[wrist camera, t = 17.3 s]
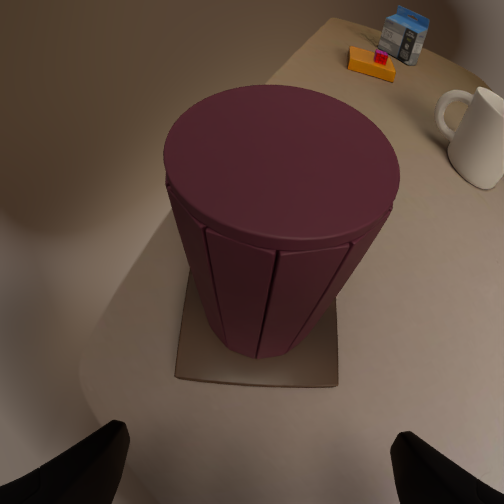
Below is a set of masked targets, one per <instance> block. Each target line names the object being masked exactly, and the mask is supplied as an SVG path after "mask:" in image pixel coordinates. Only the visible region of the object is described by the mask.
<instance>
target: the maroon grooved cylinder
mask: <svg viewBox="0 0 504 504" xmlns="http://www.w3.org/2000/svg"><path fill="white" fill-rule="evenodd" d="M163 156H164V165H165V169H166V181H165V182H166V183H165V184H166V188H167V192H168V195H169V199H170V202H171V206H172V210H173V213H174V216H175V220H176V223H177V227H178V230H179V233H180V237H181V240H182V243H183V247H184V250H185V253H186V256H187V259H188V263H189V266H190V269H191V272H192V275H193V278H194V281H195V284H196V287H197V290H198V293H199V296H200V299H201V302H202V305H203V308H204V311H205V314H206V317H207V319H208V322H209V325H210V327H211V329H212V330H213V331H214V333H215V334H216V335H217V336H218V338H219V339H220V340H221V342H222V343H223V344H224V345H225V347H226V348H227V347H228V349H229V350H232V351H234V352H237V353H239V354H242V355H245V356H247V357H250V358H253V359H255V356H256V359H262V358H269V357H275V356H281V355H284V354H287V353H288V352H289V351H290V350H291V349H293V348H294V347H295V346H296V345H297V344H299V343H300V342H301V341H302V340H303V339H304V338H306V336H307V335H308V334H309V332H310V331H311V330H312V328H313V327H314V326H315V325H316V323H317V322H318V321H319V319H320V318H321V316H322V315H323V314H324V312H325V311H326V310H327V308H328V307H329V306H330V304H331V303H332V301H333V300H334V299H335V297H336V296H337V294H338V293H339V292H340V290H341V289H342V287H343V286H344V284H345V283H346V282H347V280H348V279H349V277H350V276H351V274H352V273H353V271H354V270H355V268H356V267H357V265H358V264H359V262H360V261H361V259H362V258H363V256H364V255H365V253H366V252H367V250H368V249H369V247H370V246H371V244H372V242H373V241H374V239H375V238H376V236H377V235H378V233H379V231H380V230H381V228H382V227H383V225H384V223H385V222H386V220H387V218H388V217H389V215H390V212H391V211H392V208H393V201H394V199H395V197H396V194H397V192H398V189H399V182H400V170H399V164H398V160H397V156H396V154H395V152H394V149H393V147H392V146H391V144H390V142H389V141H388V139H387V138H386V136H385V135H384V134H383V133H382V131H381V130H380V129H379V128H378V127H377V126H376V125H375V124H374V123H373V122H372V121H371V120H369V119H368V118H367V117H366V116H365V115H363V114H362V113H360V112H359V111H357V110H356V109H354V108H353V107H351V106H349V105H347V104H346V103H344V102H342V101H340V100H337V99H335V98H333V97H330V96H328V95H325V94H322V93H319V92H316V91H312V90H308V89H304V88H299V87H292V86H284V85H253V86H245V87H239V88H234V89H230V90H226V91H223V92H220V93H217V94H214V95H212V96H210V97H207V98H205V99H203V100H202V101H200V102H198V103H196V104H195V105H193V106H192V107H191V108H189V109H188V110H187V111H186V112H184V113H183V114H182V115H181V116H180V117H179V118H178V120H177V121H176V122H175V123H174V125H173V126H172V128H171V129H170V131H169V133H168V136H167V138H166V141H165V146H164V151H163Z"/></svg>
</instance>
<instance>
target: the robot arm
mask: <svg viewBox="0 0 504 504" xmlns="http://www.w3.org/2000/svg"><path fill="white" fill-rule="evenodd" d="M129 444H130V436H129V433H128V430H127V427H126V424H125V423H124V422H122V421H118V420H112V421H110V422H109V423H107V424H106V425H104V426H103V427H101V428H100V429H98V430H97V431H95V432H94V433H92V434H91V435H89V436H88V437H86V438H85V439H83V440H82V441H80V442H79V443H77V444H76V445H74V446H72V447H71V448H69V449H68V450H66V451H65V452H63V453H61V454H60V455H58V456H57V457H55V458H53V459H52V460H50V461H49V462H47V463H45V464H44V465H42V466H40V468H37V469H35V470H33V471H32V472H30V473H28V474H26V475H25V476H23V477H21V478H19V479H16V480H14V481H12V482H10V483H8V484H5V485H2V486H0V504H112V501H113V499H114V496H115V493H116V491H117V488H118V485H119V483H120V480H121V477H122V473H123V469H124V464H125V460H126V456H127V452H128V448H129ZM390 454H391V460H392V466H393V473H394V479H395V485H396V490H397V494H398V497H399V501H400V504H504V494H502V493H501V492H499V491H497V490H495V489H493V488H491V487H490V486H488V485H487V484H485V483H483V482H482V481H480V480H479V479H477V478H476V477H474V476H473V475H471V474H470V473H468V472H467V471H466V470H464V469H463V468H461V467H460V466H458V465H457V464H455V463H454V462H453V461H451V460H450V459H448V458H447V457H446V456H444V455H443V454H441V453H440V452H439V451H437V450H436V449H434V448H433V447H432V446H430V445H429V444H427V443H426V442H425V441H423V440H422V439H421V438H419V437H418V436H417V435H415V434H414V433H412V432H411V431H406V432H401V433H399V434H398V435H397V437H396V439H395V441H394V443H393V444H392V446H391V450H390Z"/></svg>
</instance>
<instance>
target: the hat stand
mask: <svg viewBox="0 0 504 504" xmlns="http://www.w3.org/2000/svg"><path fill="white" fill-rule="evenodd" d="M175 377H176V378H178V379H182V380H190V381H198V382H207V383H217V384H228V385H241V386H258V387H285V388H326V387H336V386H338V335H337V312H336V297H335V299H334V300H333V301H332V303H331V304H330V306H329V307H328V308H327V310H326V311H325V312H324V314H323V315H322V316H321V318H320V319H319V321H318V322H317V323H316V325H315V326H314V327H313V328H312V330H311V331H310V332H309V334H308V335H307V336H306V338H304V339H303V340H302V341H301V342H300V343H299V344H297V345H296V346H295V347H294V348H293V349H291V350H290V351H289V352H288V353H287V354H284V355H281V356H275V357H269V358H262V359H256V356H255V359H253V358H250V357H247V356H245V355H242V354H239V353H237V352H234V351H232V350H229V349H228V347H227V348H226V347H225V345H224V344H223V343H222V342H221V340H220V339H219V338H218V336H217V335H216V334H215V333H214V331H213V330H212V329H211V327H210V325H209V322H208V319H207V317H206V314H205V311H204V308H203V305H202V302H201V299H200V296H199V293H198V290H197V287H196V284H195V281H194V278H193V275H192V272H191V269H190V272H189V278H188V284H187V290H186V296H185V303H184V309H183V316H182V322H181V329H180V337H179V344H178V351H177V359H176V367H175Z"/></svg>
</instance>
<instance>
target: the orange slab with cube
mask: <svg viewBox="0 0 504 504" xmlns="http://www.w3.org/2000/svg"><path fill="white" fill-rule="evenodd" d="M348 69H349V70H353V71H356V72H360V73H363V74H367V75H370V76H374V77H377V78H380V79H383V80H386V81H389V82H392V83H393V81H394V78H395V74H396V71H395V68H394V66H393V63H392V60H391V58H390V57H388V54H387V53H386V52H383V51H380V50H377V49H376V51H375V53H374V52H371V51H368V50H364V49H361V48H357V47H353V46H350V47H349V52H348Z"/></svg>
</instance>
